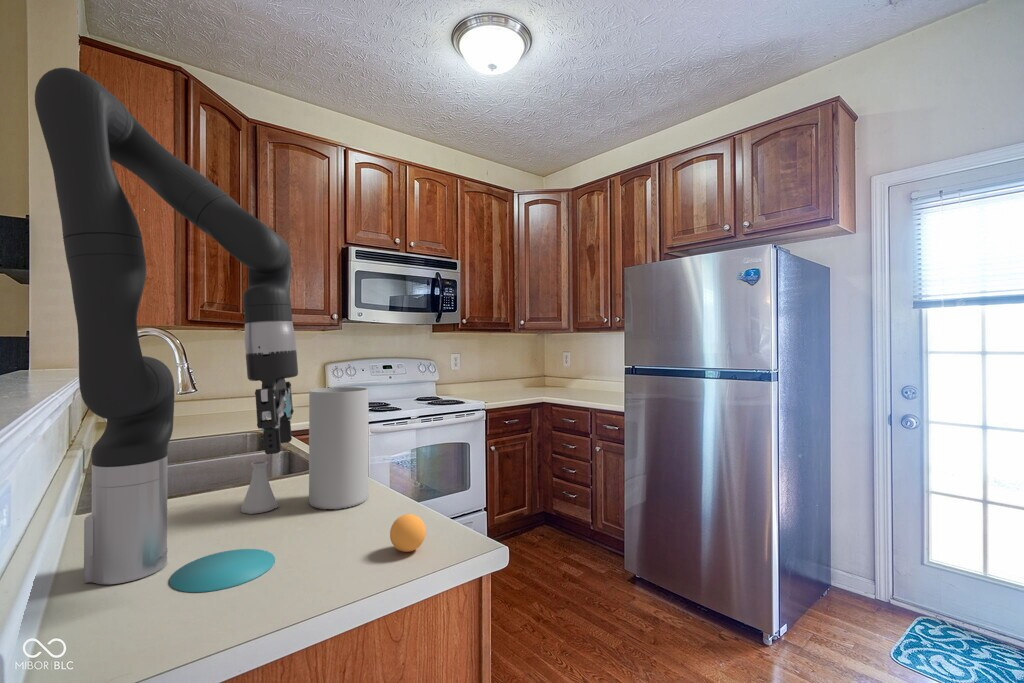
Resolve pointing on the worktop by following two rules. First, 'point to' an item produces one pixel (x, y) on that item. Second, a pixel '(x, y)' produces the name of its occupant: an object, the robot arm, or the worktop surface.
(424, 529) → the ball
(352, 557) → the worktop surface
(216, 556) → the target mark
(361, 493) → the cylinder vase
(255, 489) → the flask
